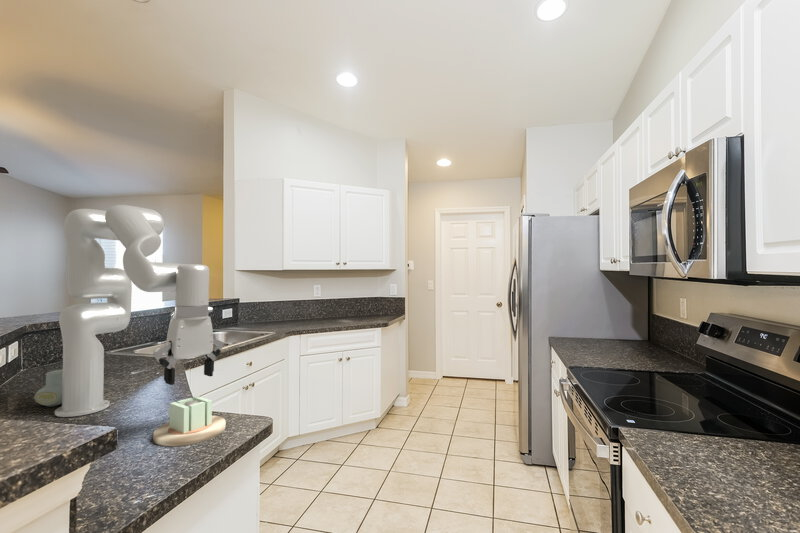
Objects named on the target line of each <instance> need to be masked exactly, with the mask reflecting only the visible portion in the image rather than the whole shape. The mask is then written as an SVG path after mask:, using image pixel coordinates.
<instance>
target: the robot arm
mask: <svg viewBox="0 0 800 533" xmlns="http://www.w3.org/2000/svg"><path fill="white" fill-rule="evenodd" d="M164 228H165V220H164V218H163V216H162V215H161V214H160V213H159V212H158V211H156V210H155V209H151V208H146V207H142V206H134V205H128V204H117V205H113V206H111V207H109V208H108V209H107V210H101V209H92V208H78V209H74V210H72V211H70V212H69V213H68V214H67V215H66V216H65V220H64V222H63V234H64V239H65V243H66V246H67V249H68V250H67V251H68V261H67V262H68V263H67V291H68V292H67V293H68V294H69V295H70V296H71V297H72V298H74V299H79V300H90V299H91V300H95V299H97V300H98V299H106V300H107V301H106V302H89V303H78V304H73V305H70V306H67V307H65V308H64V309H62V311H61V312H60V314H59V318H58V323H59V328H60V332H61V333H60V334H61V339H62V340H61V341H62V369H63V383H62V404H61V406H59V407H58V408H56V409H55V410H54V415H55V416H56V417H61V418H69V417H70V418H73V417H80V416H85V415H90V414H93V413H97V412H100V411H103V410H105V409H107V408H109V407H110V400H108V399H104V378H105V377H104V373H105V370H104V369H105V347H104V345H103V344H102V342H101V341H100V340H99V339H98V338H97V335H100V334H108V333H115V332H121V331H122V330H123V331H124V330H125V329H127V327H128V326H129V323H130V322H131V314H132V291H133V290H132V285H133V284H134V285H135V287H136V288H137V289H139V290H140V291H142V292H146V293H162V292H163V293H165V292H166V293H167V292H175V301H174V302H175V304H174V318H173V317H171V318H170V322H169V325H168V330H167V334H166V342H165V344H164V345H162V346H160V347H159V348H156V349H155V350H154V351H152V355H153V356H154V359H155V360H156V362H157V363H158V364H159V365H160V366H162V367H163V370H164V371H163V374H164V375H163V380H164V382H165V384H168V385H170V386H172V385H173V386H174V385H175V381H176V378H175V377H176V369H175V368H174V366H175V365H176V363H177V362H178V361H179V360H185V359H190V358H191V359H192V358H199V357H205V359H204V362H203V375H204V376H207V377H213V376H214V370H215V361H216V360H217V358H218V356H219V355H220V354H221V351H222V348H223V346H224V345H225V343H224V342H223V341H221V340H219V339H216V338H214V332H213V331H214V330H213V324H212V319H211V316H209V314H210V313H212V312H213V311H214V308H213V306H210V304H209V303H210V302H209V300H210V299H209V298H210V296H209V295H210V268H209V266H207V265H205V264H198V263H197V264H196V263H187V264H186V263H178V262H176V263H175V262H154V261H153V262H152V261H150V260H149V259H147V257H149V256H152V255H153V254H154V253H156V251H158V249H159V248H160V246H161V243H162V238H161V236H160V235H161V234H162V233H163V231H164ZM96 239H97V240H98V239H99V240H111V241H119V242H120V243H121V244H122V245H123V247H124V248H125V250H124V253H123V256H122V266H123V269H122V268H115V267H106V265H105V264H106V262H105V261H106V255H105V251H104V249H103V247H102V246H101V244H100V243H99V242H98V241H97V240H96ZM214 345H215V348H214ZM164 353H165V356H166V358H164V356H163V355H164Z"/></svg>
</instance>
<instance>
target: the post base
mask: <svg viewBox="0 0 800 533" xmlns="http://www.w3.org/2000/svg"><path fill="white" fill-rule="evenodd" d="M196 403H198V401H189V402H186V403H185V404H184V405H185V406H188V407H189V405H192V404H196ZM169 422H170V421H169ZM169 422H166V423H164V424H162V425H160V426H158V427H157V428H156V429H155V430H154V431H153V435H152V436H153V438H152V439H153V443H154V444H156V445H158V446H163V447H183V446H184V447H185V446H190V445H195V444H199V443H203V442H206V441H209V440H212V439H213V438H217V437H218V436H220V435H221V434H222V433H224V431H225V430H226V424H227V421H226V419H225V418H224V417H221V416H218V415H212V424H211V425H208V426H207V425H205V427H202V428H199V429H196V430H193V431H190V430H189V432H187V433H181V432H179V431H177V430H175V429H172V428H170V427H169Z"/></svg>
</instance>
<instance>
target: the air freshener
mask: <svg viewBox="0 0 800 533" xmlns="http://www.w3.org/2000/svg"><path fill="white" fill-rule="evenodd" d="M62 383H63V368H62V369H55V370H51V371H48V372H46V373H45V386H43V387H41V388H40V389H38V391H36V393H35V394H34V400H35V402H36V403H37V404H39V405H42V406H46V407H57V406H60V405H61V406H62Z"/></svg>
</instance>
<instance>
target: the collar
mask: <svg viewBox="0 0 800 533" xmlns="http://www.w3.org/2000/svg"><path fill="white" fill-rule="evenodd" d="M189 401H198V403H196V404H192V405H189V407H188V406H185V405H184V404H185V403H186V402H189ZM212 414H213V400H211V399H209V398H205V397H201V396H199V395H196V396H193V397H188V398H184V399H181V400H177V401H173V402H170V403H169V427H170V428H172V429H175V430H177V431H179V432H181V433H187V432H189V430H190V431H193V430H196V429H199V428H202V427H205V425H207V426H208V425H211V424H212Z"/></svg>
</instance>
